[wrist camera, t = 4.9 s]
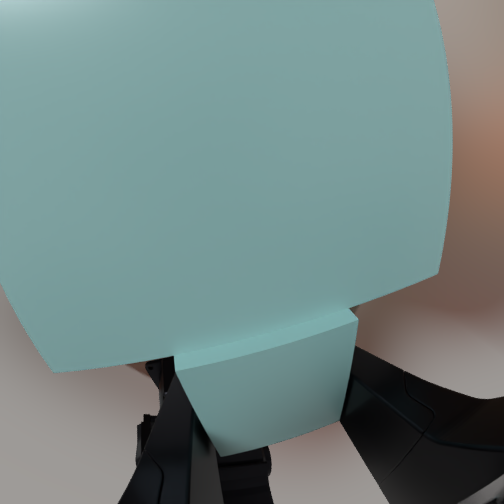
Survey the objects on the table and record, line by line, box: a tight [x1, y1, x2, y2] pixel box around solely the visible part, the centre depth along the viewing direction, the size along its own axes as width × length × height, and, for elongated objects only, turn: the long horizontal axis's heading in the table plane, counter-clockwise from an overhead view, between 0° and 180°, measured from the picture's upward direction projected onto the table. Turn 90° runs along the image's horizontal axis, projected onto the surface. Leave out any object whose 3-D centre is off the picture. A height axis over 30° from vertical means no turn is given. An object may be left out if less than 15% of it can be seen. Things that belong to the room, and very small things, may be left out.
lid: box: [0, 0, 453, 457], centre depth 5 cm, size 12×9×2 cm
